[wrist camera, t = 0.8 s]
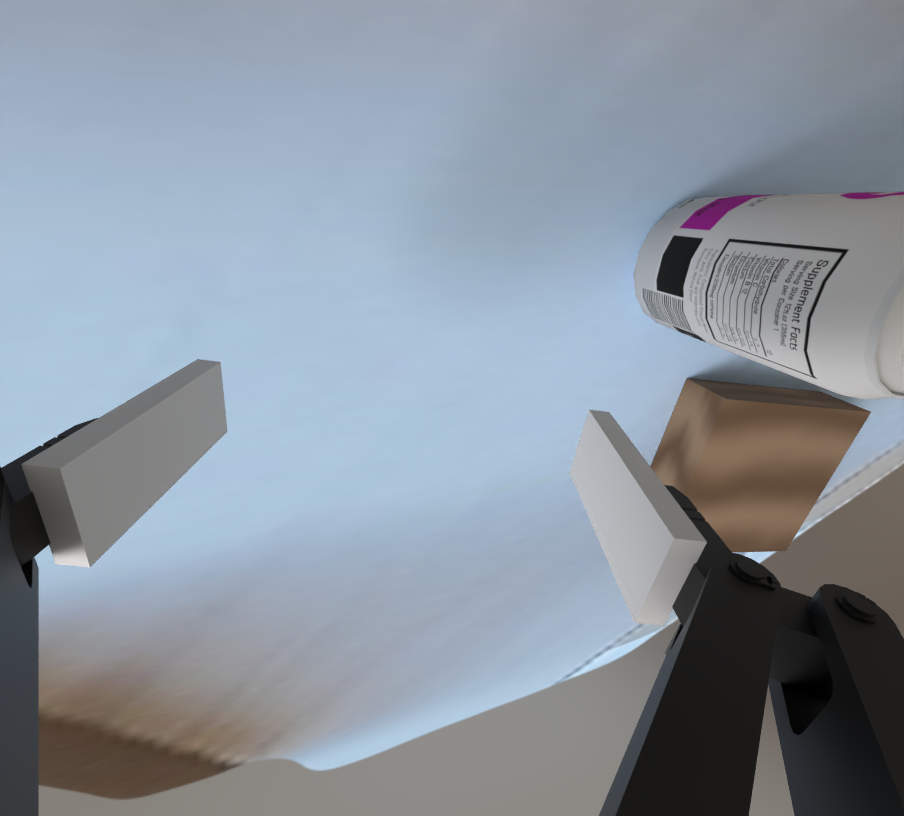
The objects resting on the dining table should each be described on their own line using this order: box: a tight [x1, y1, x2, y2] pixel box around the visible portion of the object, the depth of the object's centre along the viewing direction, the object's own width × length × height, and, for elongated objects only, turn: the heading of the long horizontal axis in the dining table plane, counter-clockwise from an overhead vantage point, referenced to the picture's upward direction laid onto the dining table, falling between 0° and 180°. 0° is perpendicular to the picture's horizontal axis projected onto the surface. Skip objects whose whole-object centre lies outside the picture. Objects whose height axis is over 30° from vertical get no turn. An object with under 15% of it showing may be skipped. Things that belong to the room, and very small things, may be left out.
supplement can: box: [634, 192, 904, 399], centre depth 22 cm, size 8×8×15 cm
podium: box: [651, 379, 871, 552], centre depth 36 cm, size 14×14×4 cm
